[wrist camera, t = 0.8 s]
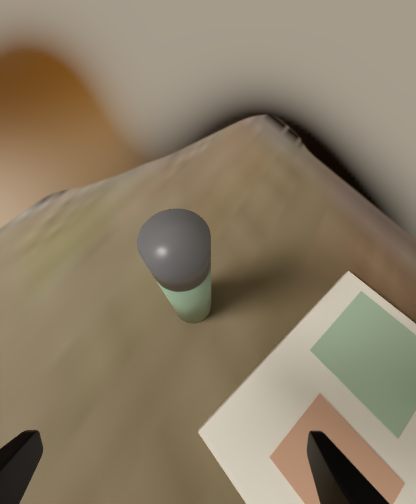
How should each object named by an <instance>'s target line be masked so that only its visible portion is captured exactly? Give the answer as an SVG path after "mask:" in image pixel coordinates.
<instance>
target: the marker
mask: <svg viewBox="0 0 416 504" xmlns="http://www.w3.org/2000/svg"><path fill="white" fill-rule="evenodd" d="M137 246H138V251H139V253H140V256H141V257H142V259H143V260H144V262H145V264H146V265H147V267H148V268H149V270H150V272H151V273H152V275H153V276H154V278H155V279H156V281H157V283H158V284H159V286H160V287H161V289H162V290H163V292H164V294H165V295H166V297H167V298H168V300H169V302H170V303H171V305H172V306H173V308H174V309H175V311H176V313H177V314H178V316H179V317H180V318H181V319H182V320H183V321H185V322H188V323H198V322H201V321H202V320H204V319H205V318H206V317H207V316H208V314H209V313H210V310H211V235H210V230H209V227H208V225H207V224H206V222H205V221H204V220H203V219H202V218H201V217H200V216H199V215H197V214H196V213H194V212H192V211H189V210H185V209H169V210H165V211H162V212H159V213H157V214H155V215H154V216H152V217H151V218H149V219H148V220H147V221H146V222H145V224H144V225H143V226H142V228H141V230H140V232H139V235H138V239H137Z"/></svg>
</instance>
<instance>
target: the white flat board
mask: <svg viewBox="0 0 416 504" xmlns="http://www.w3.org/2000/svg"><path fill="white" fill-rule="evenodd" d="M310 431H322V432H324V433H325V434H326V435H327V437H328V438H329V439H330V440H331V441H332V442H333V443H334V444H335V445H336V446H337V447H338V448H339V449H340V451H341V452H342V453H343V454H344V455H345V456H346V457H347V458H348V459H349V460H350V461H351V462H352V464H353V465H354V466H355V467H356V468H357V469H358V470H359V471H360V472H361V473H362V474H363V475H364V477H365V478H366V479H367V480H368V481H369V482H370V483H371V484H372V485H373V486H374V487H375V488H376V489H377V491H378V492H379V493H380V494H381V495H382V496H383V497H384V498H385V499H386V500H387V501H388V502H389V504H416V324H415V323H414V322H413V321H411V320H410V319H409V318H408V317H406V316H405V315H404V314H402V313H401V312H400V311H399V310H397V309H396V308H395V307H394V306H392V305H391V304H390V303H389V302H387V301H386V300H385V299H383V298H382V297H381V296H380V295H378V294H377V293H376V292H375V291H373V290H372V289H371V288H370V287H368V286H367V285H366V284H365V283H363V282H362V281H361V280H359V279H358V278H357V277H356V276H354V275H353V274H352V273H351V272H349V271H348V272H346V273H345V274H343V275H342V277H341V278H340V279H339V280H338V281H337V282H336V283H335V284H334V285H333V286H332V287H331V288H330V289H329V290H328V291H327V293H326V294H325V295H324V296H323V297H322V298H321V299H320V300H319V301H318V302H317V303H316V304H315V305H314V306H313V307H312V309H311V310H310V311H309V312H308V313H307V314H306V315H305V316H304V317H303V318H302V319H301V320H300V321H299V322H298V323H297V325H296V326H295V327H294V328H293V329H292V330H291V331H290V332H289V333H288V334H287V335H286V336H285V337H284V338H283V340H282V341H281V342H280V343H279V344H278V345H277V346H276V347H275V348H274V349H273V350H272V351H271V352H270V353H269V354H268V356H267V357H266V358H265V359H264V360H263V361H262V362H261V363H260V364H259V365H258V366H257V367H256V368H255V369H254V370H253V372H252V373H251V374H250V375H249V376H248V377H247V378H246V379H245V380H244V381H243V382H242V383H241V384H240V385H239V386H238V388H237V389H236V390H235V391H234V392H233V393H232V394H231V395H230V396H229V397H228V398H227V399H226V400H225V401H224V402H223V404H222V405H221V406H220V407H219V408H218V409H217V410H216V411H215V412H214V413H213V414H212V415H211V416H210V417H209V418H208V420H207V421H206V422H205V423H204V424H203V425H202V426H201V427H200V428H199V430H198V433H199V434H200V436H201V437H202V439H203V440H204V442H205V443H206V445H207V446H208V448H209V449H210V451H211V452H212V454H213V455H214V457H215V458H216V459H217V461H218V462H219V464H220V465H221V467H222V468H223V470H224V471H225V473H226V474H227V476H228V477H229V479H230V480H231V482H232V483H233V485H234V486H235V488H236V489H237V491H238V492H239V494H240V495H241V497H242V498H243V500H244V501H245V503H246V504H320V501H319V497H318V493H317V490H316V486H315V483H314V479H313V475H312V472H311V468H310V465H309V461H308V457H307V441H308V434H309V432H310Z"/></svg>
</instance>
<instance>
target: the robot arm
mask: <svg viewBox="0 0 416 504" xmlns="http://www.w3.org/2000/svg"><path fill="white" fill-rule="evenodd" d="M42 453H43V445H42V441H41V437H40V433H39V431H37V430H26V431H24V432H22V433H20V434H19V435H18V436H17V437H15V438H14V439H13V440H11V441H10V442H9V443H7V444H6V445H5V446H3V447H2V448H1V449H0V504H19V503H20V501H21V499H22V497H23V495H24V493H25V490H26V488H27V486H28V484H29V482H30V480H31V478H32V476H33V474H34V471H35V469H36V467H37V465H38V463H39V461H40V459H41V456H42ZM307 457H308V461H309V465H310V468H311V472H312V475H313V479H314V483H315V486H316V490H317V493H318V497H319V501H320V504H389V502H388V501H387V500H386V499H385V498H384V497H383V496H382V495H381V494H380V493H379V492H378V491H377V489H376V488H375V487H374V486H373V485H372V484H371V483H370V482H369V481H368V480H367V479H366V478H365V477H364V475H363V474H362V473H361V472H360V471H359V470H358V469H357V468H356V467H355V466H354V465H353V464H352V462H351V461H350V460H349V459H348V458H347V457H346V456H345V455H344V454H343V453H342V452H341V451H340V449H339V448H338V447H337V446H336V445H335V444H334V443H333V442H332V441H331V440H330V439H329V438H328V437H327V435H326V434H325V433H324V432H322V431H310V432H309V434H308V441H307Z"/></svg>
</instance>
